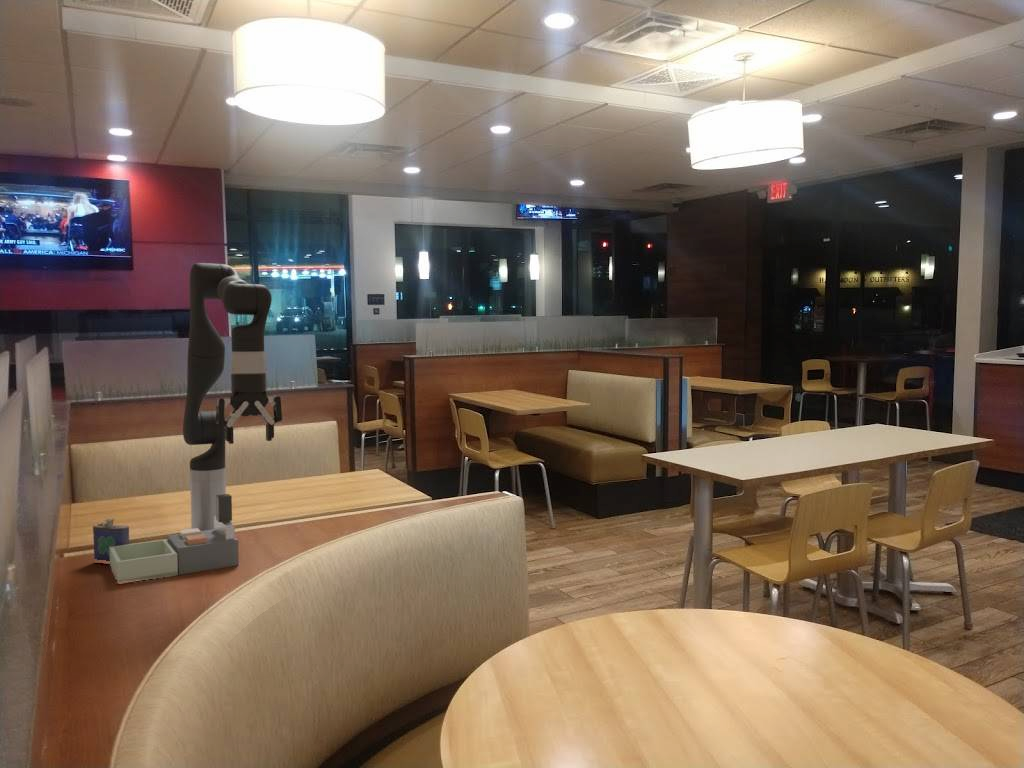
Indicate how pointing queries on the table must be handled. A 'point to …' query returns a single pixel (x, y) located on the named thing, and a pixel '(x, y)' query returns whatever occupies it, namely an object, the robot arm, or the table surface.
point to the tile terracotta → (196, 539)
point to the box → (143, 561)
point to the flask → (108, 538)
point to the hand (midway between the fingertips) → (250, 442)
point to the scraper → (224, 517)
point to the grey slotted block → (204, 553)
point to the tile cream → (189, 532)
